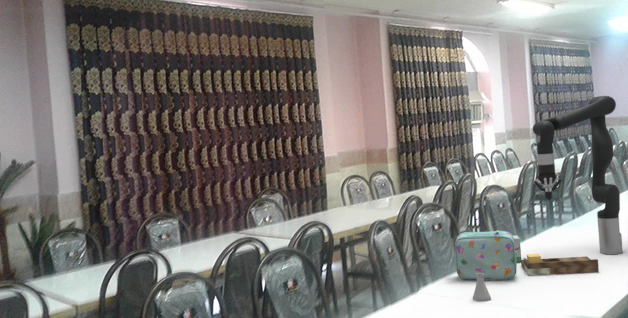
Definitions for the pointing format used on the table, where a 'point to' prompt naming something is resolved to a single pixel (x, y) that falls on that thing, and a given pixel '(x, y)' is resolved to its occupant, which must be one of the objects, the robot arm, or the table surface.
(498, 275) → the lunch box
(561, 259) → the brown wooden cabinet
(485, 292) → the flask
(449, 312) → the table surface
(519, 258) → the ink box
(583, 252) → the table surface
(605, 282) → the table surface
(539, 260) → the block
